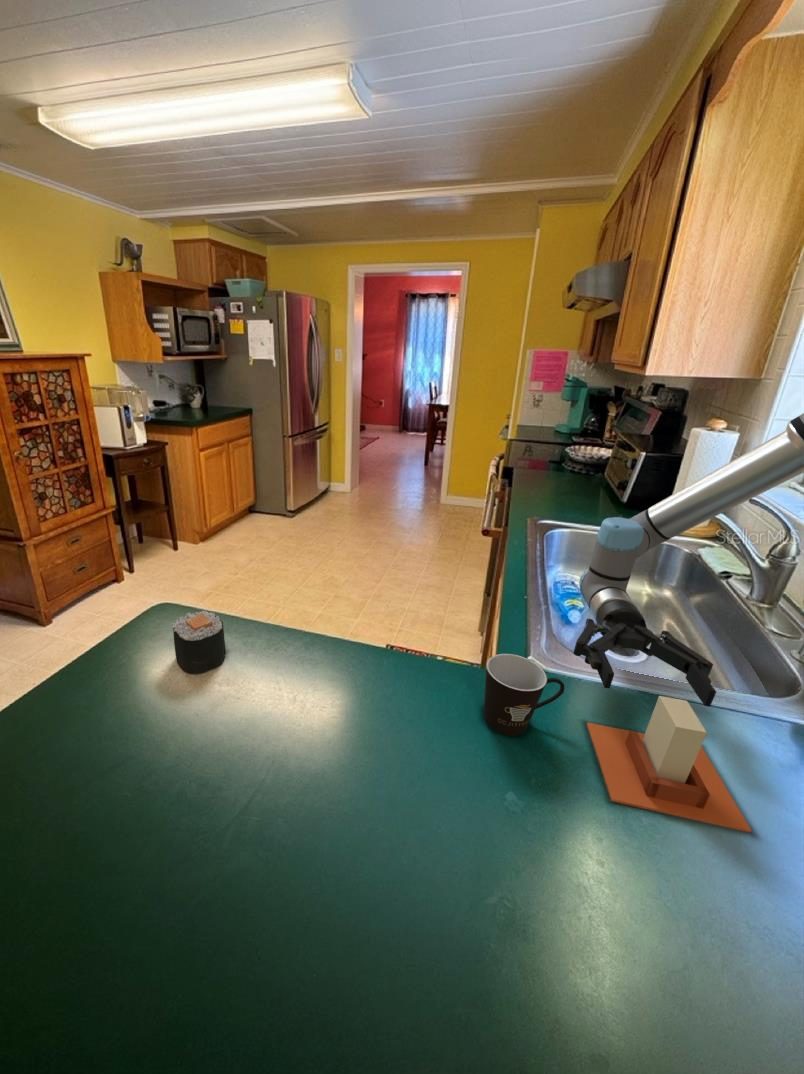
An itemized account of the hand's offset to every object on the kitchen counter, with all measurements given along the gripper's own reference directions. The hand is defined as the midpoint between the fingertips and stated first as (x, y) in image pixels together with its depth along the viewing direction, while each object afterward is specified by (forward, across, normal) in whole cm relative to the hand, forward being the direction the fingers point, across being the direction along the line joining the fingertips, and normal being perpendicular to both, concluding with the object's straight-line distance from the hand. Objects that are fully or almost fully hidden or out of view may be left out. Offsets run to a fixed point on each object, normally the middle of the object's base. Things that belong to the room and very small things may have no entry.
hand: (659, 689), depth 69 cm
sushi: (+2, +73, -9) cm, 74 cm away
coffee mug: (+3, +19, -9) cm, 22 cm away
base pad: (+7, 0, -9) cm, 12 cm away
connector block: (+7, 0, -8) cm, 11 cm away
